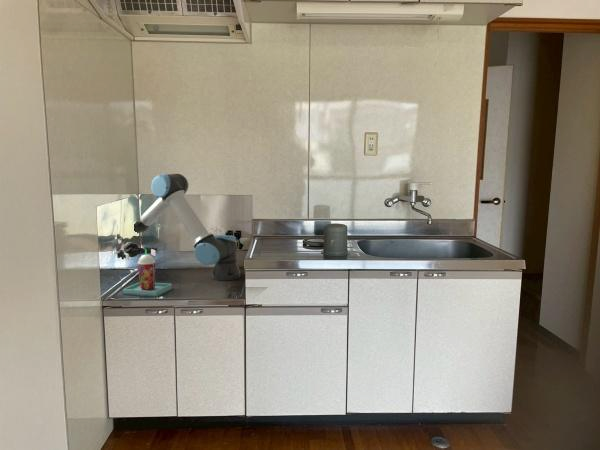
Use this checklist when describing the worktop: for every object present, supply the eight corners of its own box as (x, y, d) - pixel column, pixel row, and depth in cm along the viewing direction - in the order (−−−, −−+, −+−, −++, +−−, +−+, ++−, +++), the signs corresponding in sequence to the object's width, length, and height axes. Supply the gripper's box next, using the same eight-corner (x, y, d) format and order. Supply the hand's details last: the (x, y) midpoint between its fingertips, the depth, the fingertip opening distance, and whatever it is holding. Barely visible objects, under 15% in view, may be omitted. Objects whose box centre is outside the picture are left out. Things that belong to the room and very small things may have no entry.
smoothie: (159, 287, 225) (157, 247, 222) (151, 292, 217) (149, 251, 214) (144, 286, 226) (142, 247, 224) (135, 291, 218) (133, 250, 215)
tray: (172, 288, 226) (171, 283, 226) (156, 296, 213) (156, 291, 212) (140, 286, 231) (140, 281, 231) (123, 294, 217) (122, 289, 217)
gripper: (154, 253, 254) (167, 259, 236) (106, 259, 239) (116, 266, 222) (153, 239, 253) (166, 245, 235) (105, 245, 238) (115, 251, 221)
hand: (142, 255), depth 229 cm, fingers open, 13 cm apart
